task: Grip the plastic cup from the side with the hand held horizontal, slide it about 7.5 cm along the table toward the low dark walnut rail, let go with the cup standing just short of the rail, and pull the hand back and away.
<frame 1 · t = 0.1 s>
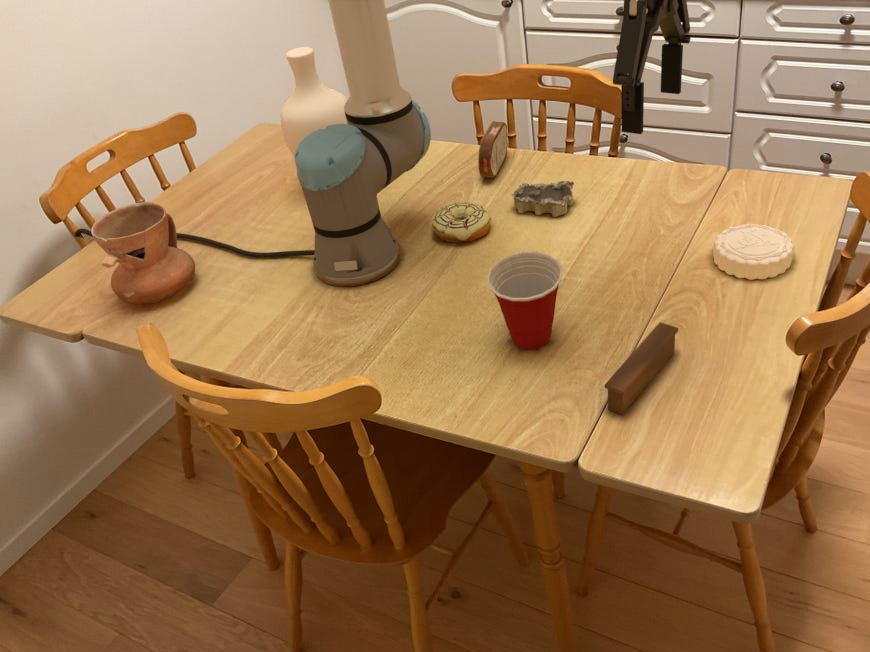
hand: (652, 111, 105), 28 cm above the table, tool pointing down, fingers open, 13 cm apart
vase: (335, 187, 163), on the table
egg carton: (543, 207, 145), on the table
plastic cup: (531, 340, 115), on the table
decorated donut: (462, 231, 142), on the table
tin: (496, 169, 160), on the table
mooncake: (751, 260, 124), on the table
walnut rail: (642, 380, 105), on the table
ceramic jug: (162, 287, 140), on the table
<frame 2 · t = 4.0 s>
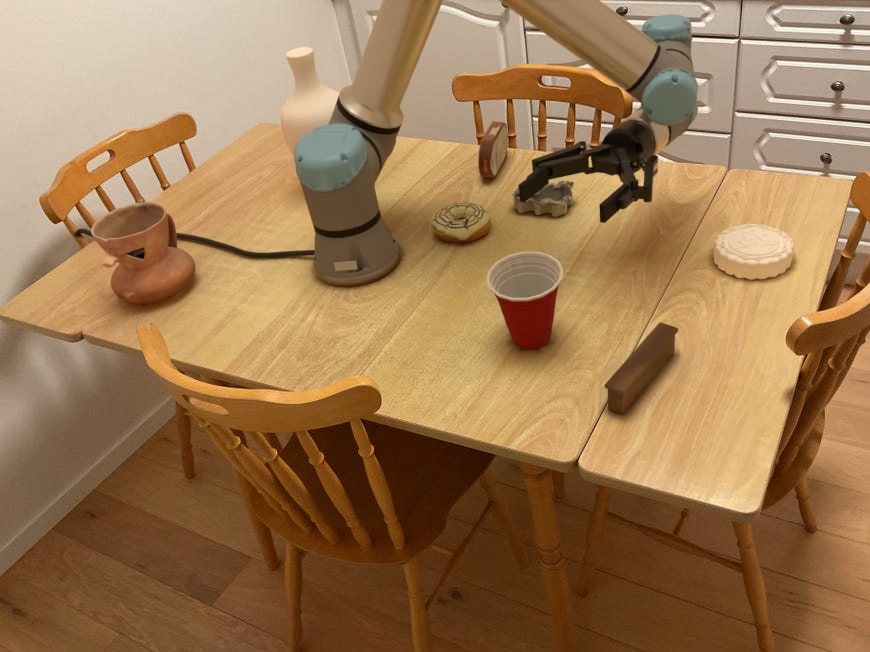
hand: (560, 203, 109), 18 cm above the table, tool horizontal, fingers open, 13 cm apart
nothing on the table moved.
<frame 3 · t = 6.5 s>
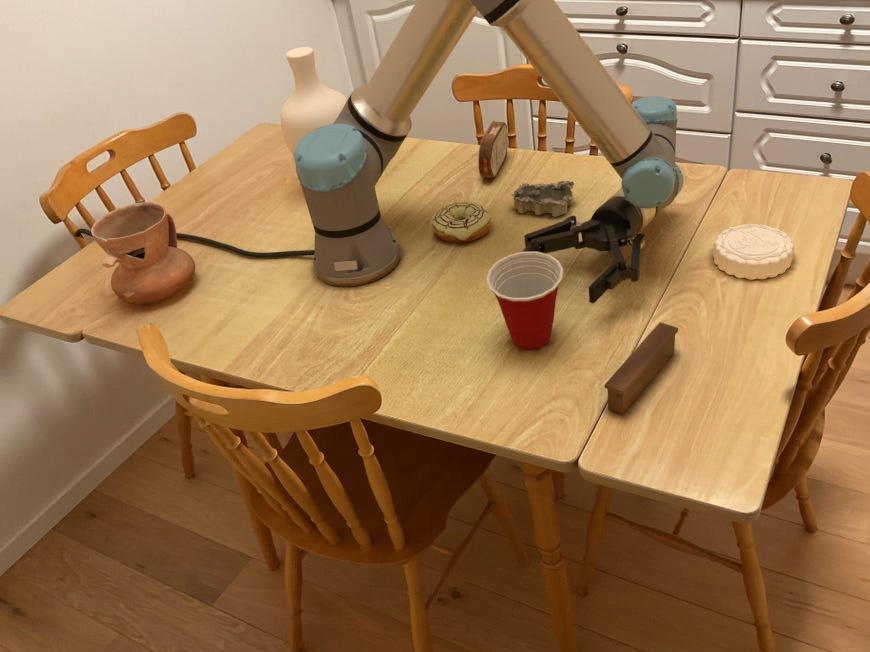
hand: (551, 283, 115), 6 cm above the table, tool horizontal, fingers open, 13 cm apart
nothing on the table moved.
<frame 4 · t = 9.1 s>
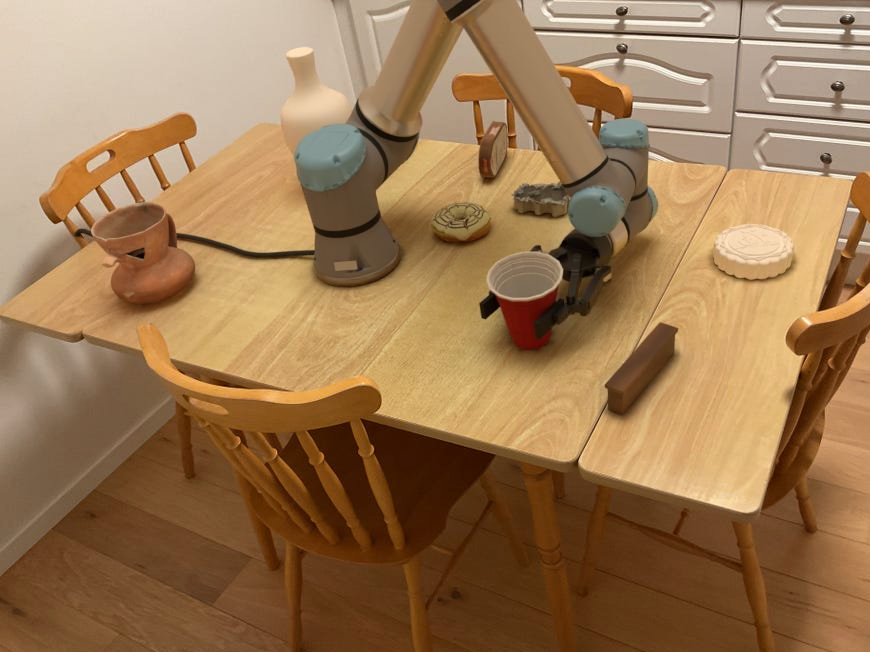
hand: (509, 321, 109), 6 cm above the table, tool horizontal, fingers closed on plastic cup, 9 cm apart
plastic cup: (531, 340, 115), on the table, touching gripper
everything else where it was.
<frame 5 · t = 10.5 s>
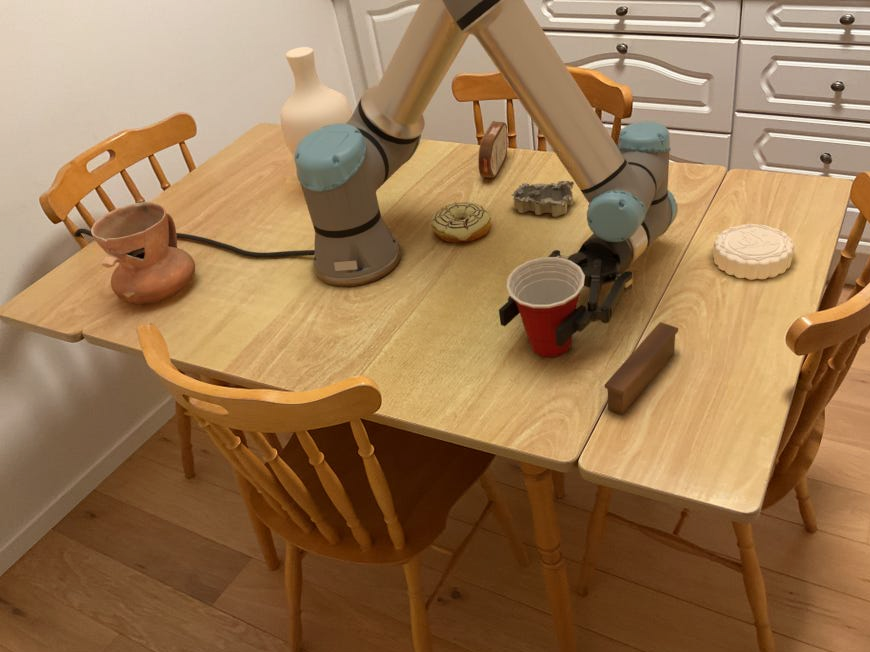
hand: (529, 328, 107), 7 cm above the table, tool horizontal, fingers closed on plastic cup, 9 cm apart
plastic cup: (550, 347, 114), on the table, touching gripper
everything else where it was.
when the fingers open (6 cm above the table, at t = 12.3 s): plastic cup stays where it is, on the table.
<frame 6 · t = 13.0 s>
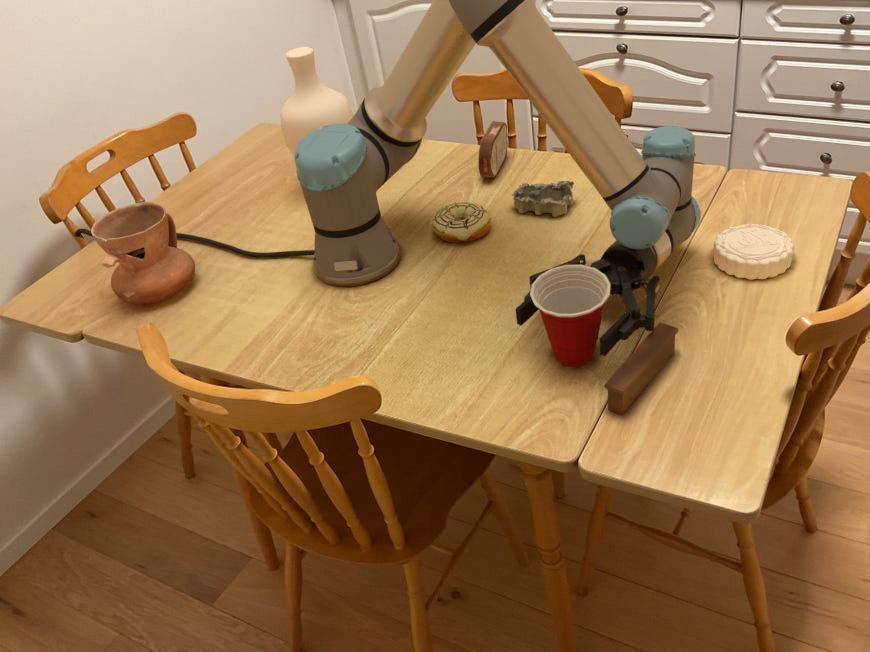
hand: (558, 332, 105), 6 cm above the table, tool horizontal, fingers open, 13 cm apart
plastic cup: (573, 356, 111), on the table
everything else where it was.
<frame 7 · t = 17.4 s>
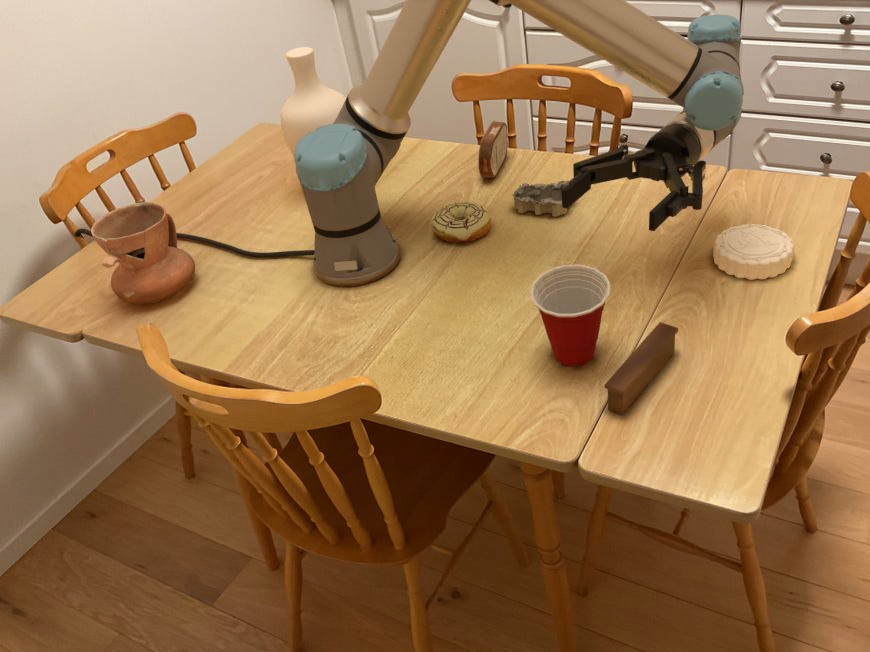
hand: (606, 210, 105), 19 cm above the table, tool horizontal, fingers open, 13 cm apart
nothing on the table moved.
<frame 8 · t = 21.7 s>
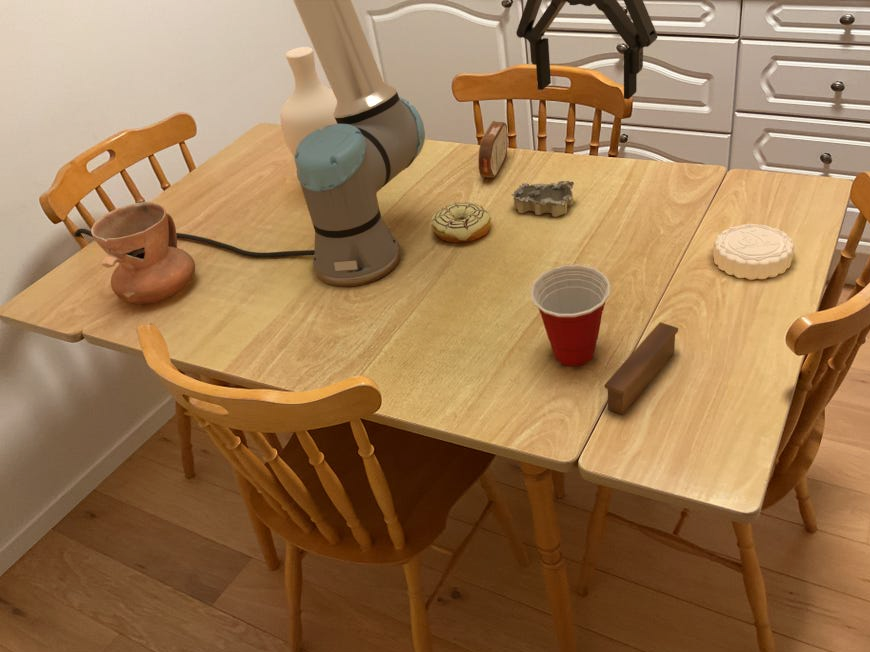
hand: (586, 90, 112), 29 cm above the table, tool pointing down, fingers open, 13 cm apart
nothing on the table moved.
at the end: plastic cup 11.0 cm from the walnut rail (horizontally); plastic cup tilted 0°; the gripper is holding nothing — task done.
